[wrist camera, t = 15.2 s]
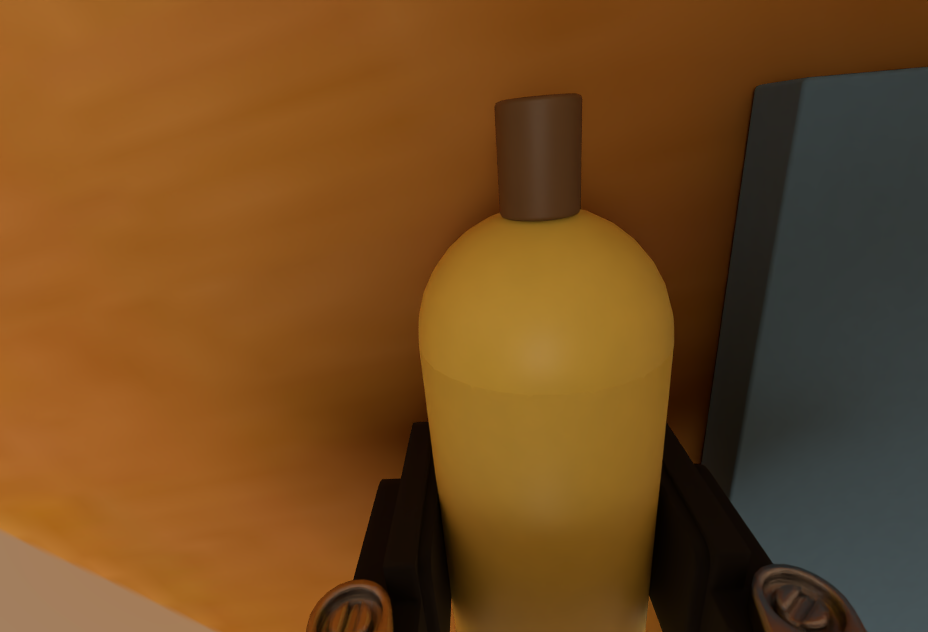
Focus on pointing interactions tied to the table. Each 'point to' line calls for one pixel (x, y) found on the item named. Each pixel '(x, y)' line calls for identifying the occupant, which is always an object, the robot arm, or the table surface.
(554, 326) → the yellow shampoo bottle
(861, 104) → the towel
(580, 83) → the table surface
